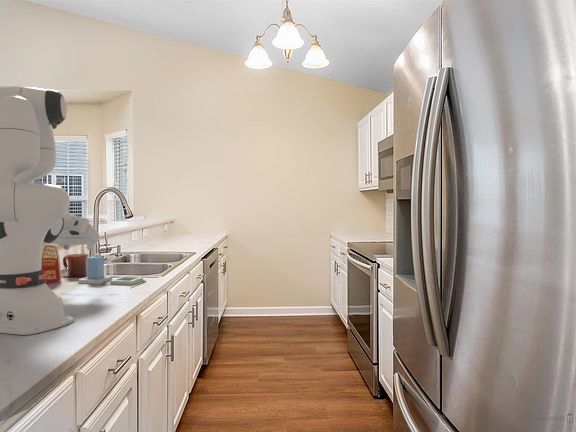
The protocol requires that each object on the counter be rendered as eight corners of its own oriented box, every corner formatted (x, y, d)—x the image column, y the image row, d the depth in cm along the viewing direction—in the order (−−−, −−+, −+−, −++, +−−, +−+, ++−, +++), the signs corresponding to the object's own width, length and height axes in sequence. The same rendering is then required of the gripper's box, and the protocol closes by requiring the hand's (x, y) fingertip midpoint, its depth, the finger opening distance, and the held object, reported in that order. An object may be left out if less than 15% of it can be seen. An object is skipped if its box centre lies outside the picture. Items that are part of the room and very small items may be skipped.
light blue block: (97, 282, 159) (97, 255, 159) (87, 282, 159) (86, 254, 159) (104, 280, 164) (103, 253, 163) (93, 280, 164) (93, 253, 164)
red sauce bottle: (41, 287, 154) (40, 236, 153) (28, 285, 159) (27, 235, 158) (64, 283, 162) (63, 235, 161) (51, 281, 167) (50, 234, 166)
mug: (93, 277, 176) (92, 254, 176) (77, 280, 168) (76, 256, 168) (72, 275, 180) (72, 253, 180) (55, 278, 172) (55, 255, 171)
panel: (146, 282, 165) (146, 276, 164) (130, 288, 153) (130, 282, 153) (93, 280, 168) (93, 274, 168) (74, 286, 156) (74, 280, 156)
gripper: (30, 231, 140) (50, 254, 150) (85, 232, 138) (101, 255, 149) (39, 218, 144) (57, 241, 154) (92, 218, 143) (107, 242, 153)
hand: (79, 248), depth 151 cm, fingers open, 8 cm apart
